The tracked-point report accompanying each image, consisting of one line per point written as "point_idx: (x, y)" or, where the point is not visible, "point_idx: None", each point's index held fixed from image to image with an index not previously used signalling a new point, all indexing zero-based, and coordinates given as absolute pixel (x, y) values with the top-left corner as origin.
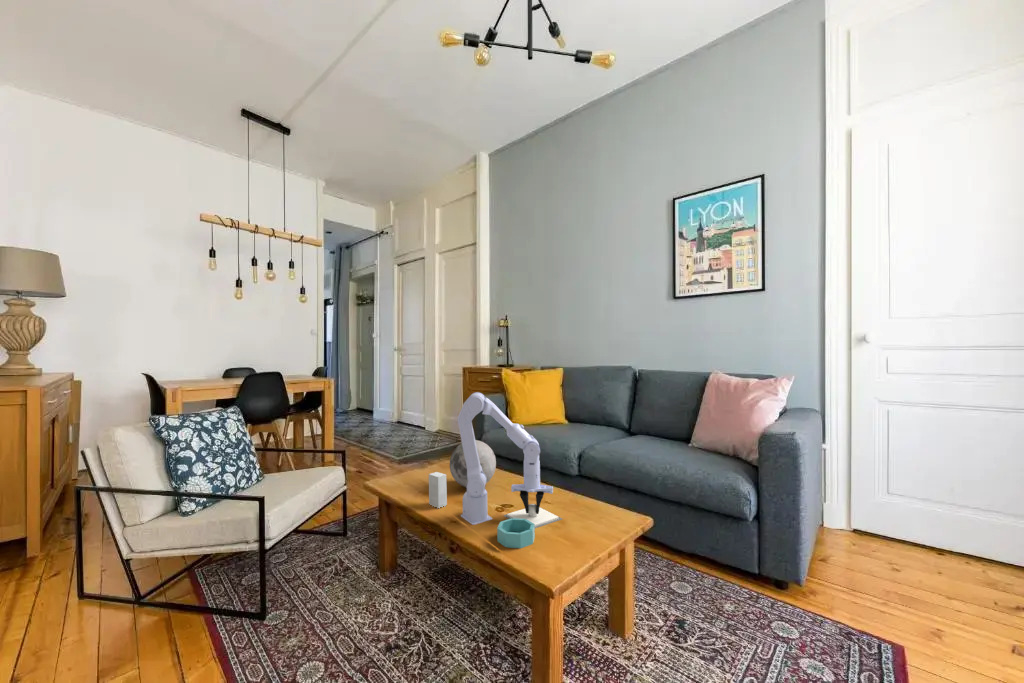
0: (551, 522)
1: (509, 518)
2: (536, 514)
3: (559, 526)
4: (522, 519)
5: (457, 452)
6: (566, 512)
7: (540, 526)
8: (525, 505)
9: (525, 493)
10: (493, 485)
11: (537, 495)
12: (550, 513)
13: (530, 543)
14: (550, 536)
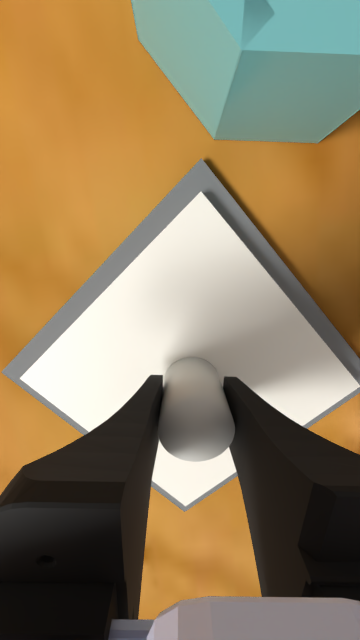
0: (59, 315)
1: (337, 342)
2: (164, 381)
3: (4, 280)
4: (287, 20)
5: None
6: (13, 460)
7: (121, 244)
8: (262, 406)
9: (336, 568)
10: None
11: (83, 505)
12: (82, 419)
13: None
14: (25, 98)
